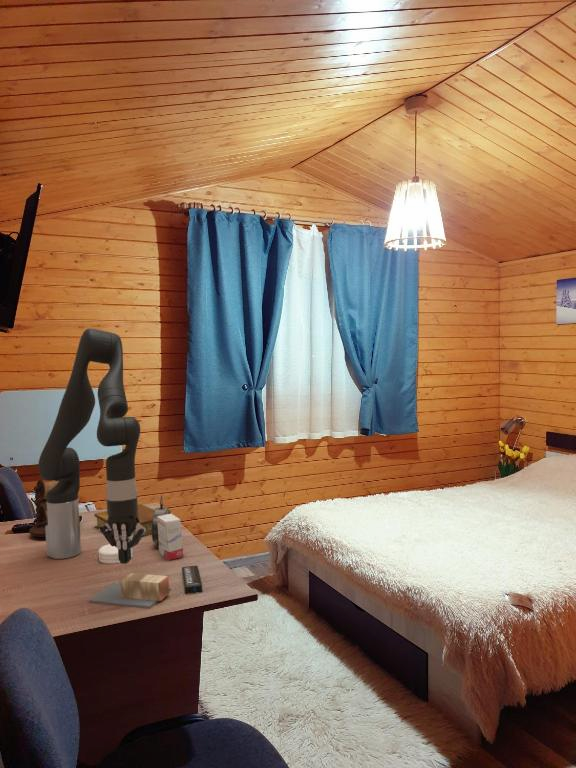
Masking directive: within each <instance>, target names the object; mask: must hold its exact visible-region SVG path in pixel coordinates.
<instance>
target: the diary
mask: <svg viewBox="0 0 576 768" xmlns="http://www.w3.org/2000/svg"><path fill="white" fill-rule="evenodd" d="M154 510H155V509H153V508H151V507H148V506H146V505H144V504H142V503H140V504H139V503H138V513H137V517H138V519H139V523H140V524H141V525H142V526H143V527H145V526H146V527H147V531H146V533H145V534H144V535H143V537H142V538H145V537H149V535H150V536H152V519H153V514H154ZM94 517H95V518H96V525H95V526H94V528H95V527H96V528H95V529H97V528H98V529H100V527H102V526H104V525H105V524H106V523H107V519H108V517H109V516H108V514H107V510H106V511H105V510H104V511H102V512H96V513H94ZM98 529H97V530H98ZM135 532H136V529H135V531H134V532H133V538H134V536H135V535H136V533H135ZM133 538H132V539H133Z"/></svg>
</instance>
